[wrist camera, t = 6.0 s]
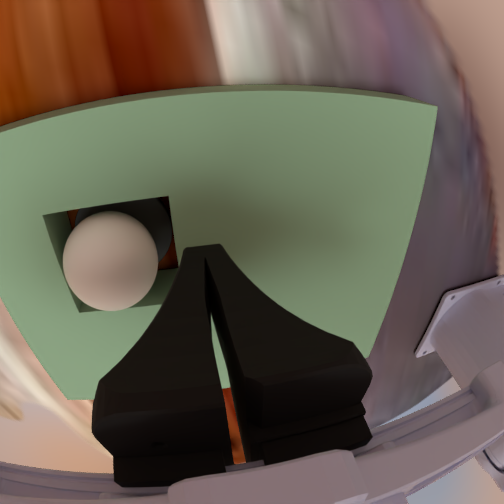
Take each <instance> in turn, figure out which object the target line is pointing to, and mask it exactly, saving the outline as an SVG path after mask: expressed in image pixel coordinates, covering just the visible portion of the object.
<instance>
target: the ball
mask: <svg viewBox="0 0 504 504" xmlns="http://www.w3.org/2000/svg"><path fill="white" fill-rule="evenodd" d="M63 270H64V274H65V278H66V280H67V282H68V285H69V287H70V288H71V290H72V291H73V293H74V294H75V295H76V296H77V297H78V298H79V299H80V300H81V301H83V302H84V303H85V304H87V305H89V306H91V307H93V308H95V309H99V310H104V311H118V310H123V309H126V308H128V307H131V306H133V305H134V304H136V303H137V302H139V301H140V300H141V299H142V298H143V297H144V296H145V295H146V294H147V293H148V291H149V290H150V288H151V287H152V285H153V283H154V280H155V278H156V274H157V270H158V254H157V249H156V245H155V242H154V240H153V238H152V236H151V234H150V233H149V231H148V230H147V229H146V227H145V226H144V225H143V224H142V223H141V222H139V221H138V220H137V219H135V218H133V217H132V216H130V215H127V214H125V213H121V212H116V211H104V212H99V213H96V214H93V215H91V216H89V217H87V218H85V219H84V220H82V221H81V222H80V223H79V224H78V225H77V226H76V227H75V228H74V229H73V231H72V232H71V234H70V235H69V237H68V239H67V241H66V244H65V248H64V252H63Z"/></svg>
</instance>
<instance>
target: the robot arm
mask: <svg viewBox="0 0 504 504" xmlns="http://www.w3.org/2000/svg"><path fill="white" fill-rule="evenodd" d="M211 315H212V319H213V323H214V326H215V330H216V333H217V337H218V340H219V343H220V347H221V350H222V354H223V357H224V360H225V364H226V368H227V372H228V377H229V382H230V387H231V392H232V397H233V402H234V407H235V412H236V417H237V421H238V426H239V431H240V436H241V441H242V445H243V450H244V455H245V459H246V463H243V464H237V465H234V462H233V455H232V449H231V441H230V435H229V428H228V421H227V414H226V407H225V402H224V397H223V391H222V386H221V381H220V377H219V372H218V368H217V363H216V358H215V353H214V348H213V342H212V325H211ZM434 351H436V352H437V353H438V355H439V356H440V358H441V359H442V361H443V362H444V364H445V365H446V367H447V368H448V370H449V371H450V373H451V374H452V376H453V377H454V379H455V380H456V382H457V383H458V385H459V387H460V388H461V390H460V391H458V392H456V393H454V394H452V395H450V396H448V397H446V398H444V399H442V400H440V401H438V402H436V403H434V404H432V405H430V406H427V407H425V408H423V409H421V410H418V411H416V412H414V413H412V414H409V415H407V416H405V417H402V418H400V419H398V420H395V421H392V422H390V423H388V424H385V425H382V426H379V427H377V428H374V429H371V430H370V429H369V427H368V425H367V423H366V421H365V419H364V416H363V415H365V413H366V411H365V408H364V406H363V404H362V402H361V400H362V399H363V397H364V395H365V393H366V391H367V389H368V387H369V385H370V383H371V380H372V377H373V376H372V370H371V368H370V367H369V365H368V363H367V361H366V359H365V358H364V356H363V355H362V353H361V352H360V351H359V349H358V348H357V347H356V345H355V344H354V342H352V341H349V340H347V339H344V338H342V337H339V336H336V335H334V334H331V333H329V332H326V331H324V330H322V329H320V328H318V327H316V326H314V325H312V324H310V323H308V322H306V321H304V320H302V319H301V318H299V317H297V316H296V315H294V314H292V313H291V312H289V311H287V310H286V309H284V308H283V307H282V306H280V305H279V304H277V303H276V302H275V301H274V300H272V299H271V298H270V297H268V296H267V295H266V294H265V293H264V292H263V291H261V290H260V289H259V288H258V287H257V286H256V285H255V284H254V283H253V282H252V281H251V280H250V279H249V278H248V277H247V276H246V275H245V274H244V273H243V272H242V271H241V269H240V268H239V267H238V266H237V265H236V264H235V262H234V261H233V260H232V259H231V257H230V256H229V255H228V253H227V252H226V250H225V249H224V247H223V246H222V245H221V244H220V243H219V244H211V245H202V246H194V247H186V248H185V249H184V250H183V254H182V258H181V262H180V265H179V268H178V271H177V273H176V276H175V278H174V281H173V283H172V285H171V288H170V290H169V292H168V294H167V296H166V298H165V300H164V302H163V304H162V305H161V307H160V309H159V311H158V312H157V314H156V316H155V317H154V319H153V320H152V322H151V323H150V325H149V326H148V327H147V329H146V330H145V332H144V333H143V334H142V336H141V337H140V338H139V340H138V341H137V342H136V343H135V344H134V346H133V347H132V348H131V349H130V350H129V351H128V353H127V354H126V355H125V356H124V357H123V358H122V359H121V360H120V361H119V362H118V363H117V364H116V365H115V366H114V367H113V368H112V369H111V370H110V371H109V372H108V373H107V374H106V375H105V376H103V377H102V378H101V379H100V380H99V382H98V385H97V389H96V393H95V398H94V402H93V410H92V433H93V435H94V437H95V438H96V439H97V440H98V441H99V442H100V443H101V444H102V445H103V446H104V447H105V448H106V449H107V450H108V451H109V452H110V453H111V454H112V455H113V466H114V467H113V469H114V474H107V473H84V472H70V471H59V470H51V469H42V468H35V467H28V466H22V465H16V464H11V463H6V462H1V461H0V504H408V502H407V500H406V497H407V496H409V495H411V494H413V493H415V492H417V491H418V490H420V489H422V488H424V487H426V486H428V485H429V484H431V483H433V482H435V481H436V480H438V479H440V478H442V477H443V476H445V475H446V474H448V473H450V472H451V471H453V470H455V469H456V468H458V467H459V466H461V465H462V464H464V463H465V462H467V461H468V460H470V459H471V458H473V457H474V456H475V458H476V460H477V461H478V463H479V464H480V466H481V467H482V468H483V469H484V470H485V471H486V472H487V473H489V474H490V476H491V477H492V478H493V480H494V481H495V483H496V484H497V486H498V487H499V488H500V489H501V491H503V492H504V275H501V276H498V277H495V278H491V279H488V280H485V281H482V282H479V283H476V284H472V285H469V286H466V287H462V288H459V289H456V290H452V291H449V292H447V293H445V294H444V296H443V297H442V300H441V302H440V304H439V306H438V308H437V310H436V312H435V315H434V317H433V319H432V321H431V323H430V325H429V327H428V329H427V331H426V333H425V335H424V337H423V339H422V341H421V342H420V344H419V346H418V348H417V350H416V352H415V356H416V357H421V356H423V355H426V354H429V353H431V352H434Z"/></svg>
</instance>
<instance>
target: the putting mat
mask: <svg viewBox="0 0 504 504" xmlns="http://www.w3.org/2000/svg"><path fill="white" fill-rule="evenodd" d="M437 108H438V107H437V106H435V105H432V104H429V103H426V102H423V101H420V100H417V99H414V98H411V97H407V96H404V95H398V94H391V93H384V92H377V91H369V90H360V89H350V88H339V87H326V86H309V85H275V84H257V85H223V86H205V87H192V88H181V89H171V90H162V91H154V92H146V93H139V94H133V95H126V96H120V97H114V98H109V99H103V100H98V101H93V102H88V103H84V104H79V105H75V106H70V107H66V108H62V109H58V110H54V111H50V112H46V113H43V114H39V115H36V116H32V117H29V118H25V119H22V120H19V121H16V122H13V123H9V124H6V125H3V126H0V297H1V299H2V301H3V303H4V305H5V306H6V308H7V310H8V312H9V314H10V315H11V317H12V319H13V321H14V322H15V324H16V326H17V327H18V329H19V331H20V332H21V334H22V336H23V337H24V339H25V340H26V342H27V343H28V345H29V347H30V348H31V350H32V351H33V353H34V354H35V356H36V357H37V359H38V360H39V362H40V363H41V364H42V366H43V367H44V369H45V370H46V372H47V373H48V374H49V376H50V377H51V378H52V380H53V381H54V383H55V384H56V385H57V387H58V388H59V389H60V390H61V392H62V393H63V394H64V396H65V397H66V398H67V399H68V400H88V399H94V398H95V393H96V389H97V385H98V382H99V380H100V379H101V378H102V377H103V376H105V375H106V374H107V373H108V372H109V371H110V370H111V369H112V368H113V367H114V366H115V365H116V364H117V363H118V362H119V361H120V360H121V359H122V358H123V357H124V356H125V355H126V354H127V353H128V351H129V350H130V349H131V348H132V347H133V346H134V344H135V343H136V342H137V341H138V340H139V338H140V337H141V336H142V334H143V333H144V332H145V330H146V329H147V327H148V326H149V325H150V323H151V322H152V320H153V319H154V317H155V316H156V314H157V312H158V311H159V309H160V307H161V305H162V304H163V302H164V300H165V298H166V296H167V294H168V292H169V290H170V288H171V285H172V283H173V281H174V278H175V276H176V273H177V271H178V268H175V269H167V270H158V271H157V274H156V278H155V280H154V283H153V285H152V287H151V288H150V290H149V291H148V293H147V294H146V295H145V296H144V297H143V298H142V299H141V300H140V301H139V302H137V303H136V304H134V305H133V306H131V307H128V308H126V309H123V310H118V311H104V310H99V309H95V308H93V307H91V306H89V305H87V304H85V303H84V302H83V301H81V300H80V299H79V298H78V297H77V296H76V295H75V294H74V293H73V291H72V290H71V288H70V287H69V285H68V282H67V280H66V278H65V274H64V270H63V252H64V248H65V244H66V241H67V239H68V237H69V235H70V234H71V232H72V228H71V224H70V221H69V217H68V214H67V211H68V210H74V209H79V211H78V213H77V216H76V220H75V227H76V226H77V225H78V224H79V223H80V222H81V221H82V220H84V219H85V218H87V217H89V216H91V215H93V214H96V213H99V212H104V211H116V212H121V213H125V214H127V215H130V216H132V217H133V218H135V219H137V220H138V221H139V222H141V223H142V224H143V225H144V226H145V227H146V229H147V230H148V231H149V233H150V234H151V236H152V238H153V240H154V242H155V245H156V249H157V254H158V262H159V261H160V260H161V259H162V258H163V257H164V256H165V254H166V252H167V251H168V249H169V246H170V243H171V238H172V225H173V232H174V239H175V246H176V253H177V259H178V265H180V262H181V258H182V254H183V250H184V249H185V248H186V247H194V246H202V245H211V244H219V243H220V244H221V245H222V246H223V247H224V249H225V250H226V252H227V253H228V255H229V256H230V257H231V259H232V260H233V261H234V262H235V264H236V265H237V266H238V267H239V268H240V269H241V271H242V272H243V273H244V274H245V275H246V276H247V277H248V278H249V279H250V280H251V281H252V282H253V283H254V284H255V285H256V286H257V287H258V288H259V289H260V290H261V291H263V292H264V293H265V294H266V295H267V296H268V297H270V298H271V299H272V300H274V301H275V302H276V303H277V304H279V305H280V306H282V307H283V308H284V309H286V310H287V311H289V312H291V313H292V314H294V315H296V316H297V317H299V318H301V319H302V320H304V321H306V322H308V323H310V324H312V325H314V326H316V327H318V328H320V329H322V330H324V331H326V332H329V333H331V334H334V335H336V336H339V337H342V338H344V339H347V340H349V341H352V342H354V344H355V345H356V347H357V348H358V349H359V351H360V352H361V353H362V355H363V356H364V358H366V357H369V354H370V352H371V349H372V347H373V345H374V342H375V340H376V337H377V335H378V332H379V330H380V327H381V324H382V322H383V319H384V317H385V314H386V311H387V308H388V306H389V303H390V300H391V297H392V294H393V291H394V289H395V286H396V283H397V280H398V277H399V274H400V270H401V267H402V264H403V261H404V258H405V254H406V251H407V248H408V244H409V241H410V237H411V234H412V230H413V226H414V223H415V219H416V215H417V211H418V207H419V203H420V199H421V195H422V190H423V186H424V181H425V177H426V172H427V167H428V162H429V157H430V152H431V146H432V141H433V135H434V128H435V122H436V115H437ZM164 196H169V203H170V210H171V218H172V225H171V220H170V216H169V214H168V211H167V210H166V208H165V206H164V205H163V203H162V202H161V201H160V200H159V199H158V198H157V197H164ZM211 325H212V342H213V348H214V353H215V358H216V363H217V368H218V372H219V377H220V381H221V386H222V388H228V387H230V382H229V377H228V372H227V368H226V364H225V360H224V357H223V354H222V350H221V347H220V343H219V340H218V337H217V333H216V330H215V326H214V323H213V319H212V315H211Z"/></svg>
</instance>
